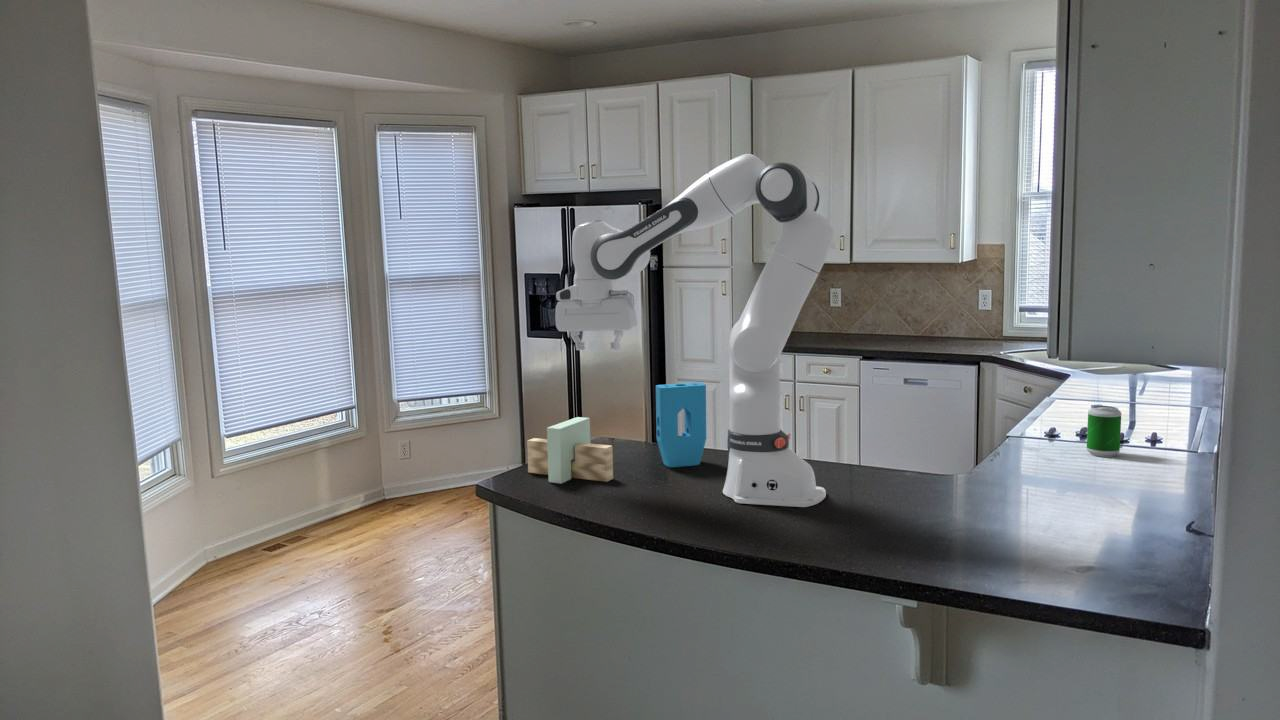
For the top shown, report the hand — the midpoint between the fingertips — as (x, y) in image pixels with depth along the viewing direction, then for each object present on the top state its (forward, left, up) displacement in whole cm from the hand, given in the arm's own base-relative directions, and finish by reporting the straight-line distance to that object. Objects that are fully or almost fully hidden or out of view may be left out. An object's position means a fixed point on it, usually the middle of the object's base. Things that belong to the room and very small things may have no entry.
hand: (597, 349), depth 224 cm
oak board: (+7, +3, -31) cm, 31 cm away
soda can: (-107, -68, -31) cm, 131 cm away
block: (-13, -18, -31) cm, 38 cm away
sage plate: (+7, +3, -31) cm, 31 cm away
